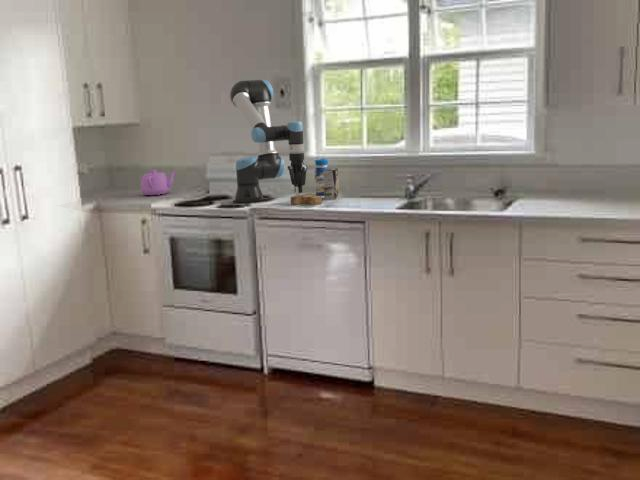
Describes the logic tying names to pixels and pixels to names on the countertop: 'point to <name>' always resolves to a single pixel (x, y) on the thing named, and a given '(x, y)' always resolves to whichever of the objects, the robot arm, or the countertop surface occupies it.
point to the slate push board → (288, 203)
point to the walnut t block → (306, 200)
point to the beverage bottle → (320, 175)
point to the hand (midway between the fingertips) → (299, 199)
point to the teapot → (156, 183)
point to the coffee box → (331, 184)
